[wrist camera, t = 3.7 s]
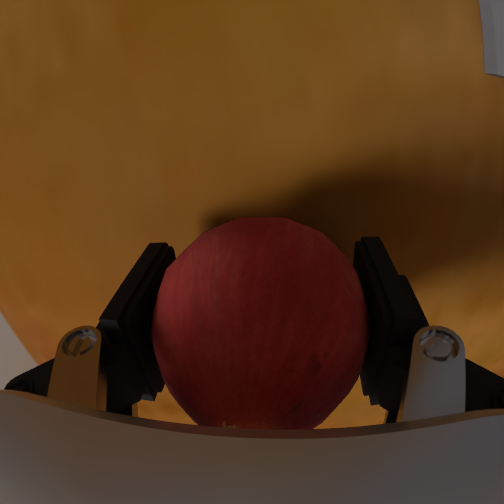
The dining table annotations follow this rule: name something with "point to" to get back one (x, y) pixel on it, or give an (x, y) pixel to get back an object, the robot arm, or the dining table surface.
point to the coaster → (493, 35)
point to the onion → (260, 326)
